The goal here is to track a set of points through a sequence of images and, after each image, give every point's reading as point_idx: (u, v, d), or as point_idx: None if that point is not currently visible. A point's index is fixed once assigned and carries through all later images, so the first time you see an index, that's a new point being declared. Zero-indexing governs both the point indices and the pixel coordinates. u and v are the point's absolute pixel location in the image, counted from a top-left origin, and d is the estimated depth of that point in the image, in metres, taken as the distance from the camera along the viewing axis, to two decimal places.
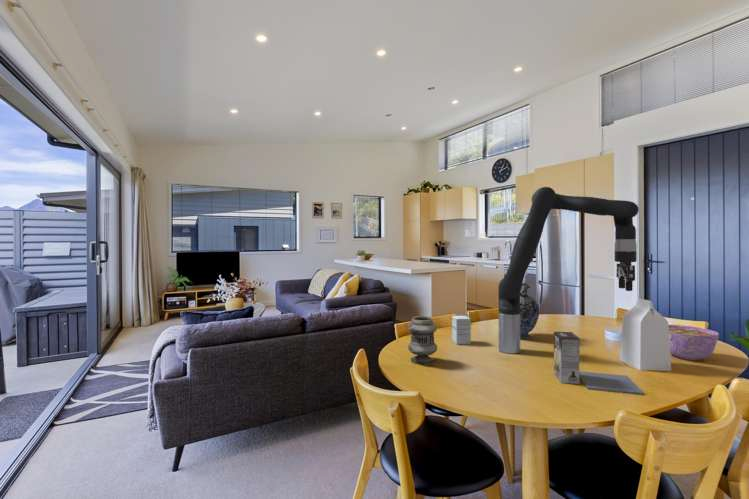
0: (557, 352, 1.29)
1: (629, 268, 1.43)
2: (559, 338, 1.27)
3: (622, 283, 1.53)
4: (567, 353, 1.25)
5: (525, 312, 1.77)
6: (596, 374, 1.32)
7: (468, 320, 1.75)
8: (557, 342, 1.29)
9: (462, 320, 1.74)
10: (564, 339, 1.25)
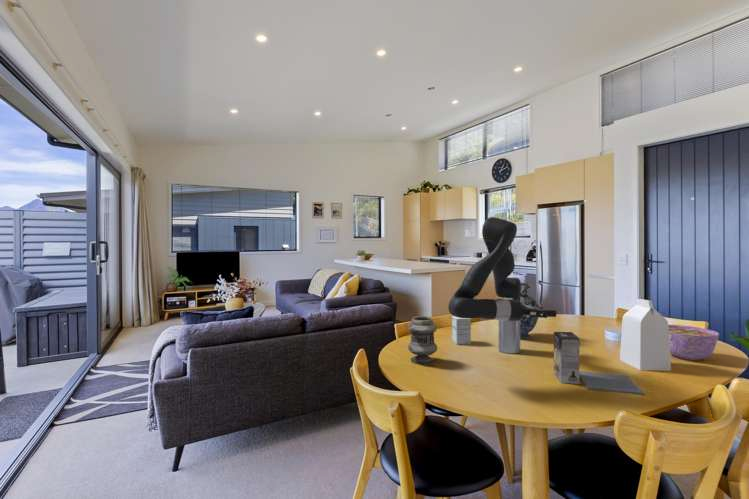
0: (557, 352, 1.29)
1: None
2: (559, 338, 1.27)
3: None
4: (567, 353, 1.25)
5: None
6: (596, 374, 1.32)
7: (468, 320, 1.75)
8: (557, 342, 1.29)
9: (462, 320, 1.74)
10: (564, 339, 1.25)
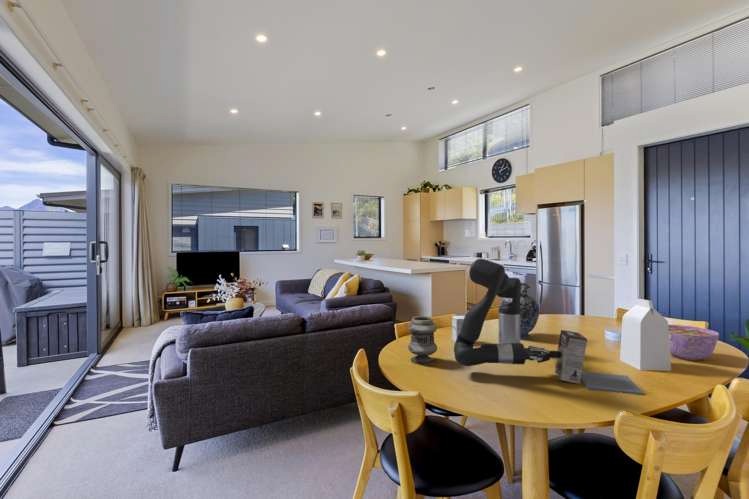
0: (562, 350, 1.29)
1: None
2: (566, 336, 1.26)
3: None
4: (573, 352, 1.25)
5: (525, 312, 1.77)
6: (596, 374, 1.32)
7: None
8: (563, 340, 1.29)
9: (462, 320, 1.74)
10: (572, 338, 1.25)
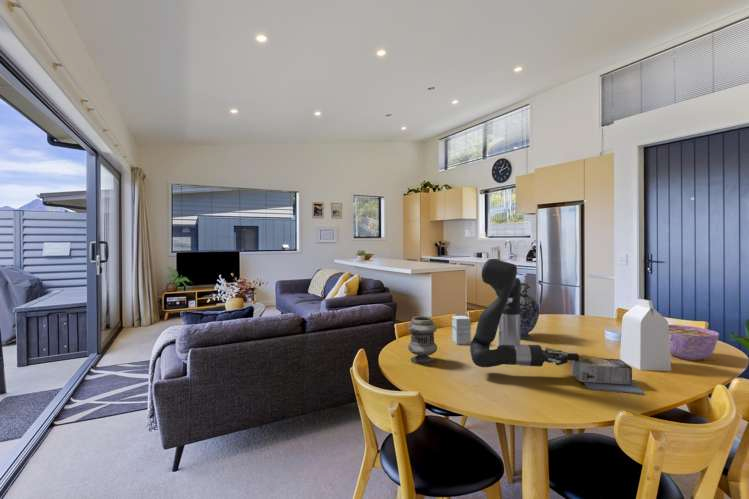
0: (606, 362, 1.26)
1: None
2: (627, 365, 1.23)
3: None
4: (614, 372, 1.22)
5: (525, 312, 1.77)
6: None
7: (468, 320, 1.75)
8: (618, 363, 1.25)
9: (462, 320, 1.74)
10: (629, 370, 1.21)
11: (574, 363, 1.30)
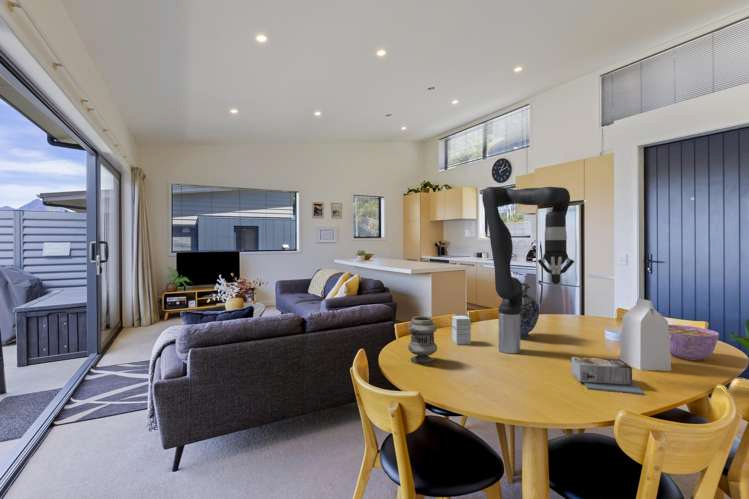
0: (606, 362, 1.26)
1: (539, 263, 1.41)
2: (627, 365, 1.23)
3: None
4: (614, 373, 1.22)
5: (525, 312, 1.77)
6: None
7: (468, 320, 1.75)
8: (618, 363, 1.25)
9: (462, 320, 1.74)
10: (630, 370, 1.21)
11: (574, 363, 1.30)
